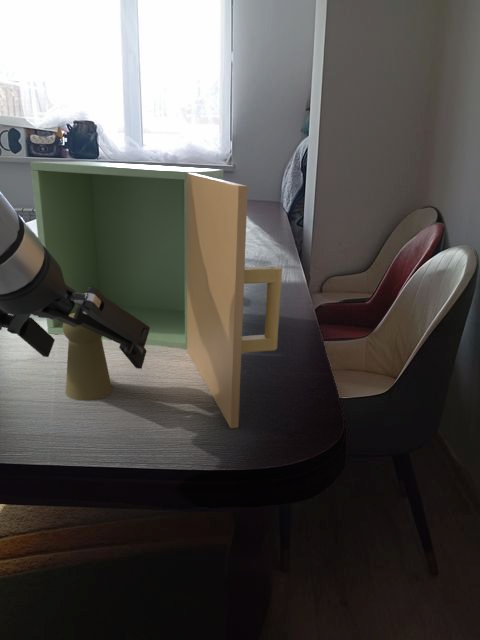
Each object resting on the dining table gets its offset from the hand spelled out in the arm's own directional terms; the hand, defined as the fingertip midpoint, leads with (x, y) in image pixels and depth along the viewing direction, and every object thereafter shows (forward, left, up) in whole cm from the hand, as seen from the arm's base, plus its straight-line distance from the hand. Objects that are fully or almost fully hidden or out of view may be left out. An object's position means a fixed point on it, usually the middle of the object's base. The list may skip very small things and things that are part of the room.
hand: (94, 353), depth 70 cm
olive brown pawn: (-1, -2, -5) cm, 5 cm away
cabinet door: (+18, 0, -5) cm, 19 cm away
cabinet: (+4, +26, -5) cm, 27 cm away
